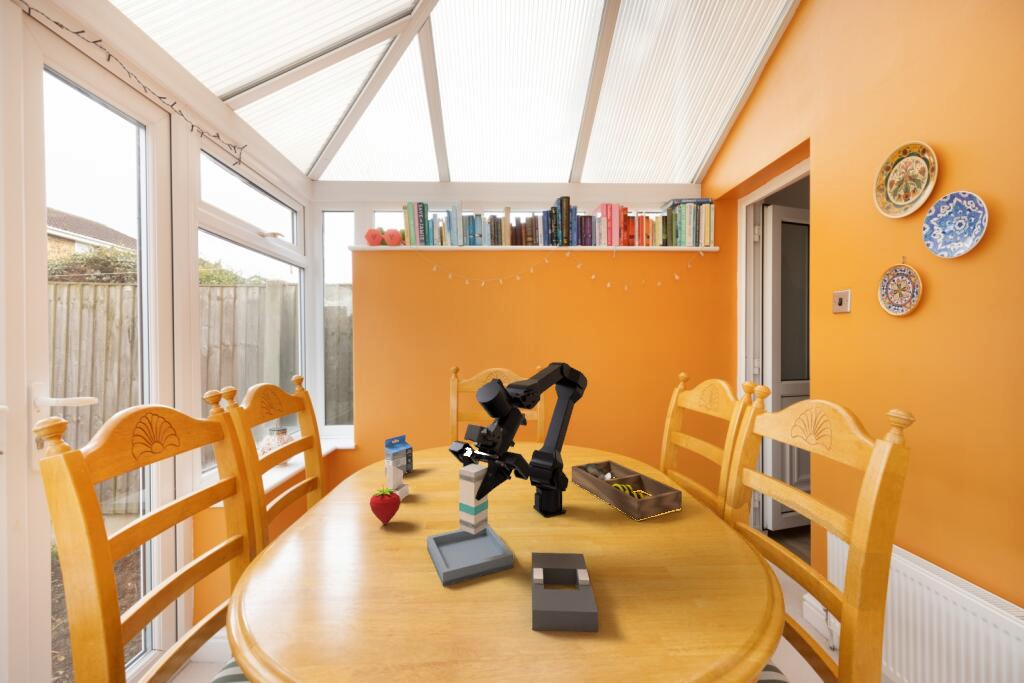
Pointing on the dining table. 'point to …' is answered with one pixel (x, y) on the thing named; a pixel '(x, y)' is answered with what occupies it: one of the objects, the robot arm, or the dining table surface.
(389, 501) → the strawberry
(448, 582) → the tray
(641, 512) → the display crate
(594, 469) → the eagle figurine
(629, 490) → the yellow coil spring
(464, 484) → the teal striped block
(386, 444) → the label tape box
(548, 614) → the block
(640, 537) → the dining table surface
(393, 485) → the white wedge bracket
